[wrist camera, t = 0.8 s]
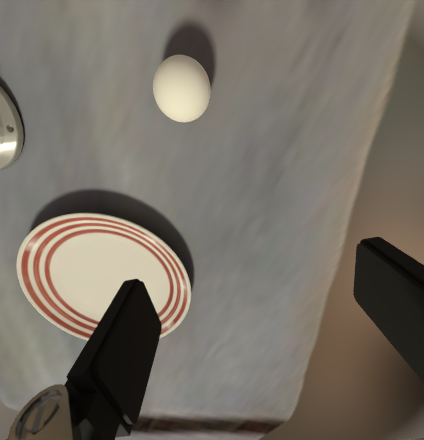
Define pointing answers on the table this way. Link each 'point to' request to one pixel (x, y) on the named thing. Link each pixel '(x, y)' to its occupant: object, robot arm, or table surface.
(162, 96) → the ball
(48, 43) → the table surface
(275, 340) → the table surface
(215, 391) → the table surface
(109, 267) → the dinner plate
